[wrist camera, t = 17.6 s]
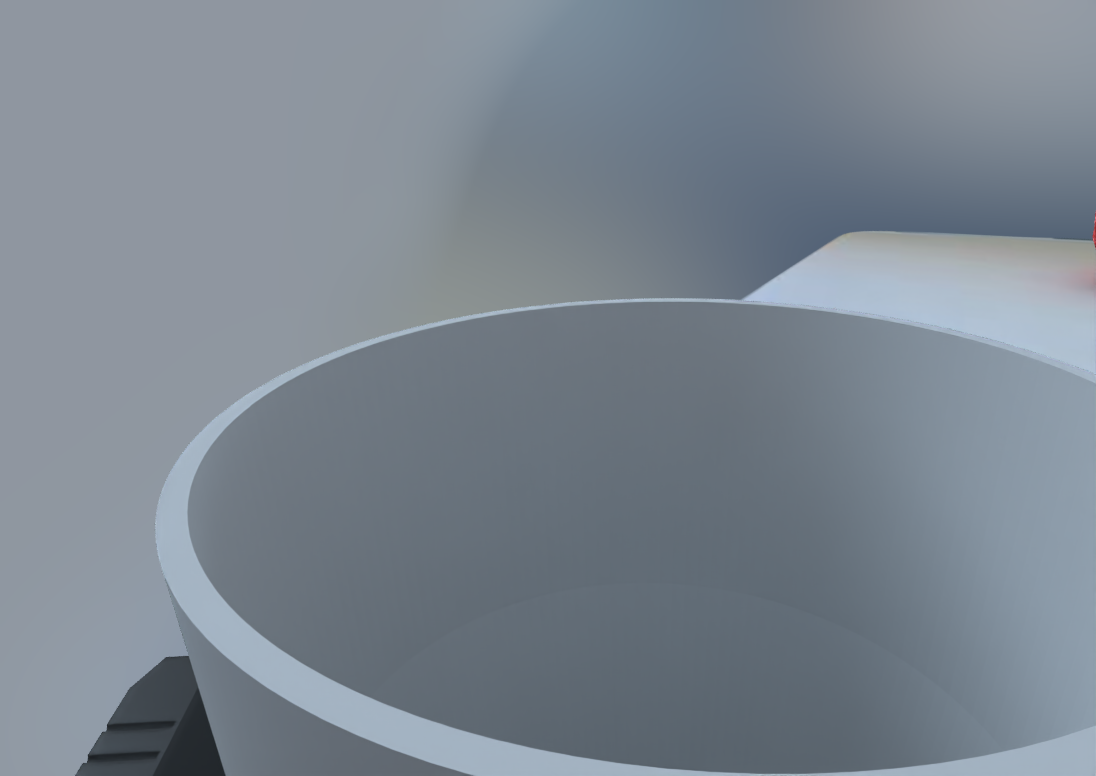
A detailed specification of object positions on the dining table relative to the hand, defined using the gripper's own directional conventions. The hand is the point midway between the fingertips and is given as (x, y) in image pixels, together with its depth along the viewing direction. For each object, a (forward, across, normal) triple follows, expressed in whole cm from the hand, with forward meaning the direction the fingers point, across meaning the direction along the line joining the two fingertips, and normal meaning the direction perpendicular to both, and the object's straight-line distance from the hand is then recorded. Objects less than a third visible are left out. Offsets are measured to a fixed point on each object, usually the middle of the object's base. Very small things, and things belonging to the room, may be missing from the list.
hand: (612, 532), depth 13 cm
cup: (-5, 0, -6) cm, 8 cm away
